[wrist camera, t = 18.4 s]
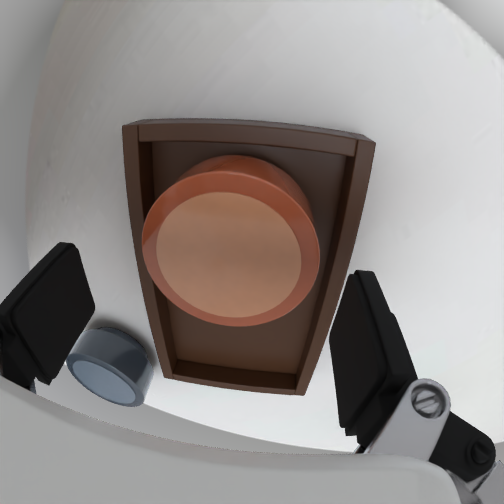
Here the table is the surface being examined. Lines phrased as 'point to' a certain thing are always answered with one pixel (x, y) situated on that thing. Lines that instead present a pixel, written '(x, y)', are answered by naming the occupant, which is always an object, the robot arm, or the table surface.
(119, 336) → the slate dish
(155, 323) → the tray
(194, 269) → the terracotta dish
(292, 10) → the table surface
